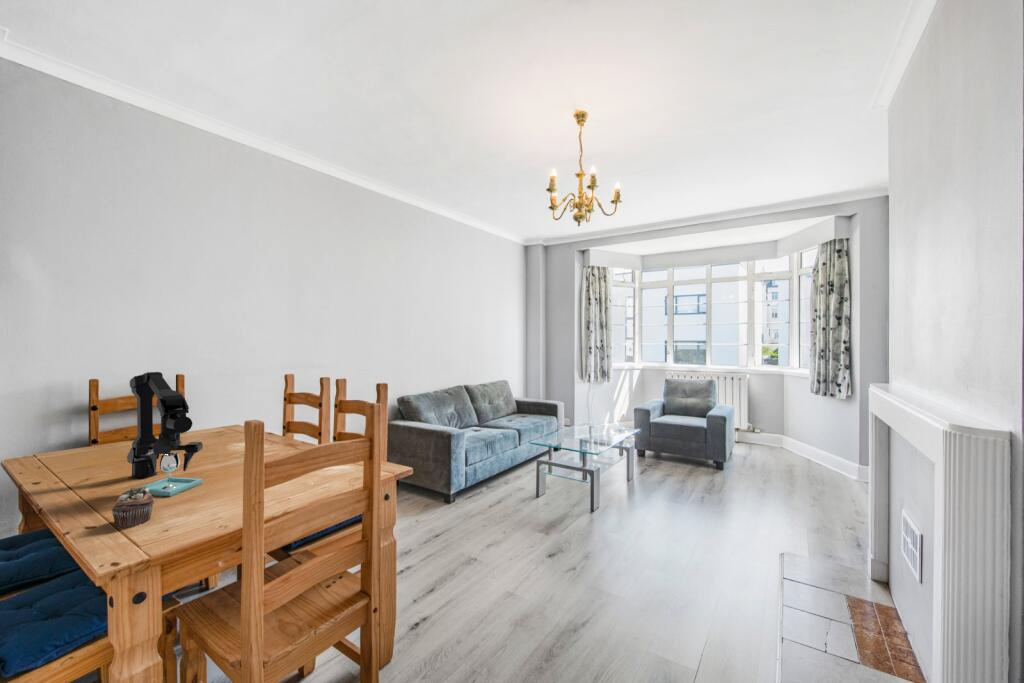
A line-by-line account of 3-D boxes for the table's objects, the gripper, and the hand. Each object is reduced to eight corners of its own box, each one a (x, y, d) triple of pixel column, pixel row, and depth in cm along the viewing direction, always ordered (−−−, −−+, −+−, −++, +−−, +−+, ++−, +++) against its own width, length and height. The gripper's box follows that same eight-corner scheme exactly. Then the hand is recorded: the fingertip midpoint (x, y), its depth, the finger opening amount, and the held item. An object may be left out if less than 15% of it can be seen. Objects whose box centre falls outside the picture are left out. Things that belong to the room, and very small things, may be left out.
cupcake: (155, 513, 138) (156, 481, 137) (150, 524, 129) (151, 491, 129) (115, 519, 132) (115, 486, 132) (107, 531, 124) (108, 496, 124)
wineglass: (157, 490, 155) (158, 457, 155) (161, 485, 160) (162, 453, 160) (177, 488, 158) (178, 455, 158) (180, 483, 163) (181, 451, 163)
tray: (133, 494, 153) (133, 489, 153) (168, 481, 167) (168, 477, 167) (170, 496, 151) (170, 491, 151) (202, 483, 165) (202, 479, 165)
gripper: (127, 435, 148) (126, 480, 149) (192, 432, 154) (191, 476, 154) (143, 428, 159) (142, 471, 159) (203, 426, 165) (202, 467, 165)
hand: (169, 471), depth 159 cm, fingers open, 9 cm apart
